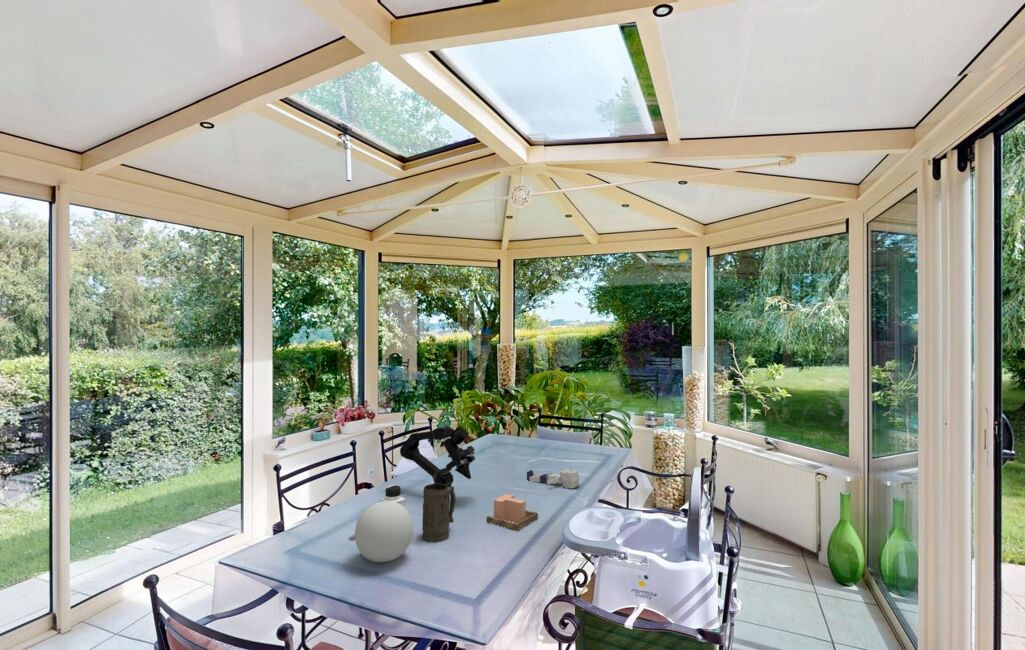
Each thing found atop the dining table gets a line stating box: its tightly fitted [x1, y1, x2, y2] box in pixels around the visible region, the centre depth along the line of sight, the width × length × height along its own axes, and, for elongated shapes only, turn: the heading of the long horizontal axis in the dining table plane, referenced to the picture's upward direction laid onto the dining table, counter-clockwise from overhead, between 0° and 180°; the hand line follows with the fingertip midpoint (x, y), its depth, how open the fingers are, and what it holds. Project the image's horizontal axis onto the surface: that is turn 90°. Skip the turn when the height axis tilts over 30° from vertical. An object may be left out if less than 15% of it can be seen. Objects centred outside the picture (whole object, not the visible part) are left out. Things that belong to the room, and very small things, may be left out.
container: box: [380, 484, 406, 508], centre depth 204 cm, size 8×8×13 cm
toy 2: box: [347, 501, 414, 563], centre depth 164 cm, size 20×20×20 cm
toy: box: [526, 468, 580, 490], centre depth 251 cm, size 21×9×30 cm
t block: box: [493, 493, 527, 523], centre depth 200 cm, size 12×10×9 cm
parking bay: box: [486, 509, 539, 532], centre depth 199 cm, size 16×16×2 cm
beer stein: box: [421, 483, 457, 542], centre depth 185 cm, size 15×11×20 cm
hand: (470, 478), depth 215 cm, fingers closed
